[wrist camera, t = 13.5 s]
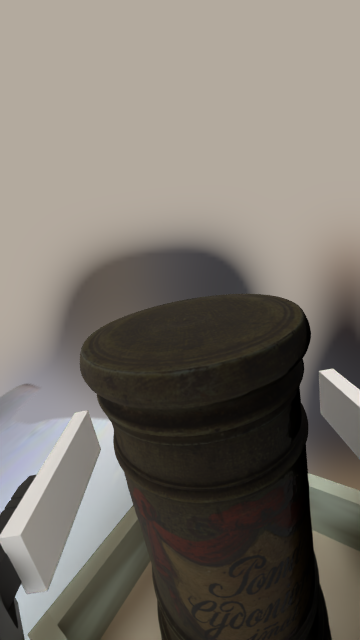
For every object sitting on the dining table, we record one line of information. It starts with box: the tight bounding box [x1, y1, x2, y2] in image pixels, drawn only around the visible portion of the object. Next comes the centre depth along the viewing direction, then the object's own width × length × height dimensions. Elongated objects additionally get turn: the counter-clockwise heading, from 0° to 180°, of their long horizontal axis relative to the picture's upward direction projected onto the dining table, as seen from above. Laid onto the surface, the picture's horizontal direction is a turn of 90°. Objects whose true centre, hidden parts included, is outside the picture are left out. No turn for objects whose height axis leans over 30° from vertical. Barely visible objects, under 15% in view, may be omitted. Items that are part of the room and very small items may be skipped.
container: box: [80, 294, 332, 640], centre depth 12 cm, size 9×9×18 cm
